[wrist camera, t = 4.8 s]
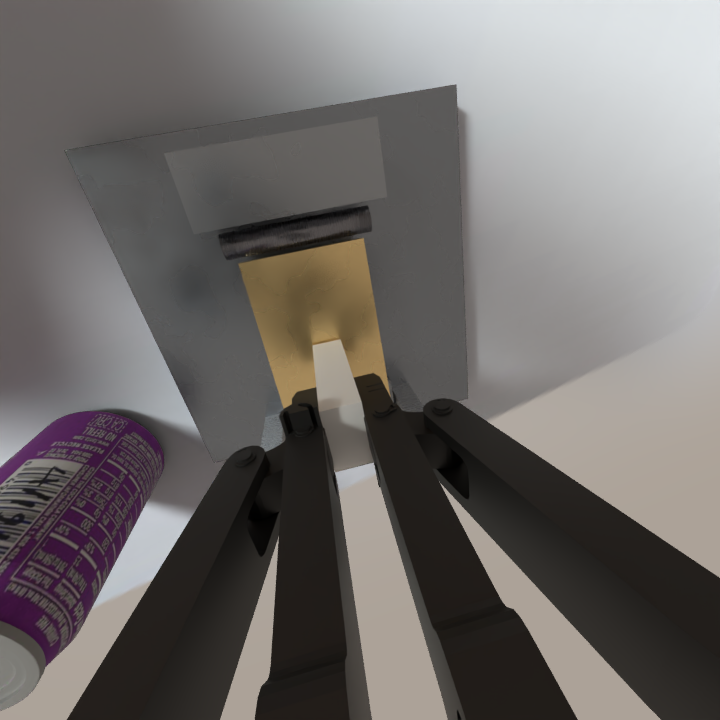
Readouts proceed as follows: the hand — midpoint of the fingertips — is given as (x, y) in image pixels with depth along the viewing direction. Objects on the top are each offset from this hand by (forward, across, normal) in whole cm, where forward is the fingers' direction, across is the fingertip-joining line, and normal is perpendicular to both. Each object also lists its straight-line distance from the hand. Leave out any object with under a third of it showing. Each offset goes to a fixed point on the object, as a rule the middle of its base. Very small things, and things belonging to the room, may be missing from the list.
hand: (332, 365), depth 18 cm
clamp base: (+4, 0, +3) cm, 5 cm away
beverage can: (+5, -16, -4) cm, 17 cm away
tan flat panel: (+1, 0, +1) cm, 2 cm away
